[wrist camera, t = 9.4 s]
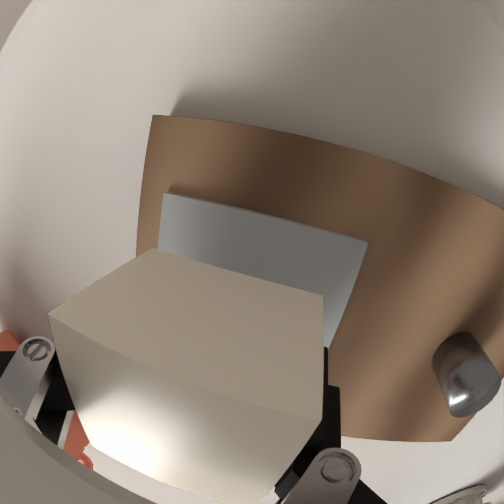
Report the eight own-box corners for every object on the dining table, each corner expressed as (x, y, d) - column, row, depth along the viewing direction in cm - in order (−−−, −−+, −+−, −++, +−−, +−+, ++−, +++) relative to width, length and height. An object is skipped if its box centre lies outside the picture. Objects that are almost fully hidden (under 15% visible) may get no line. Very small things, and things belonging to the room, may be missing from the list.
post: (484, 335, 11) (511, 373, 8) (459, 377, 12) (477, 417, 9) (448, 327, 11) (473, 369, 8) (422, 372, 12) (438, 417, 9)
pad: (366, 240, 11) (367, 243, 11) (305, 392, 14) (305, 397, 14) (167, 191, 12) (163, 192, 12) (156, 345, 16) (153, 349, 15)
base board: (551, 241, 10) (564, 247, 8) (446, 428, 15) (450, 441, 14) (168, 118, 13) (152, 114, 12) (148, 362, 18) (138, 375, 17)
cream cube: (322, 295, 9) (321, 419, 4) (276, 411, 11) (252, 510, 6) (152, 248, 10) (47, 313, 5) (150, 369, 12) (91, 445, 7)
